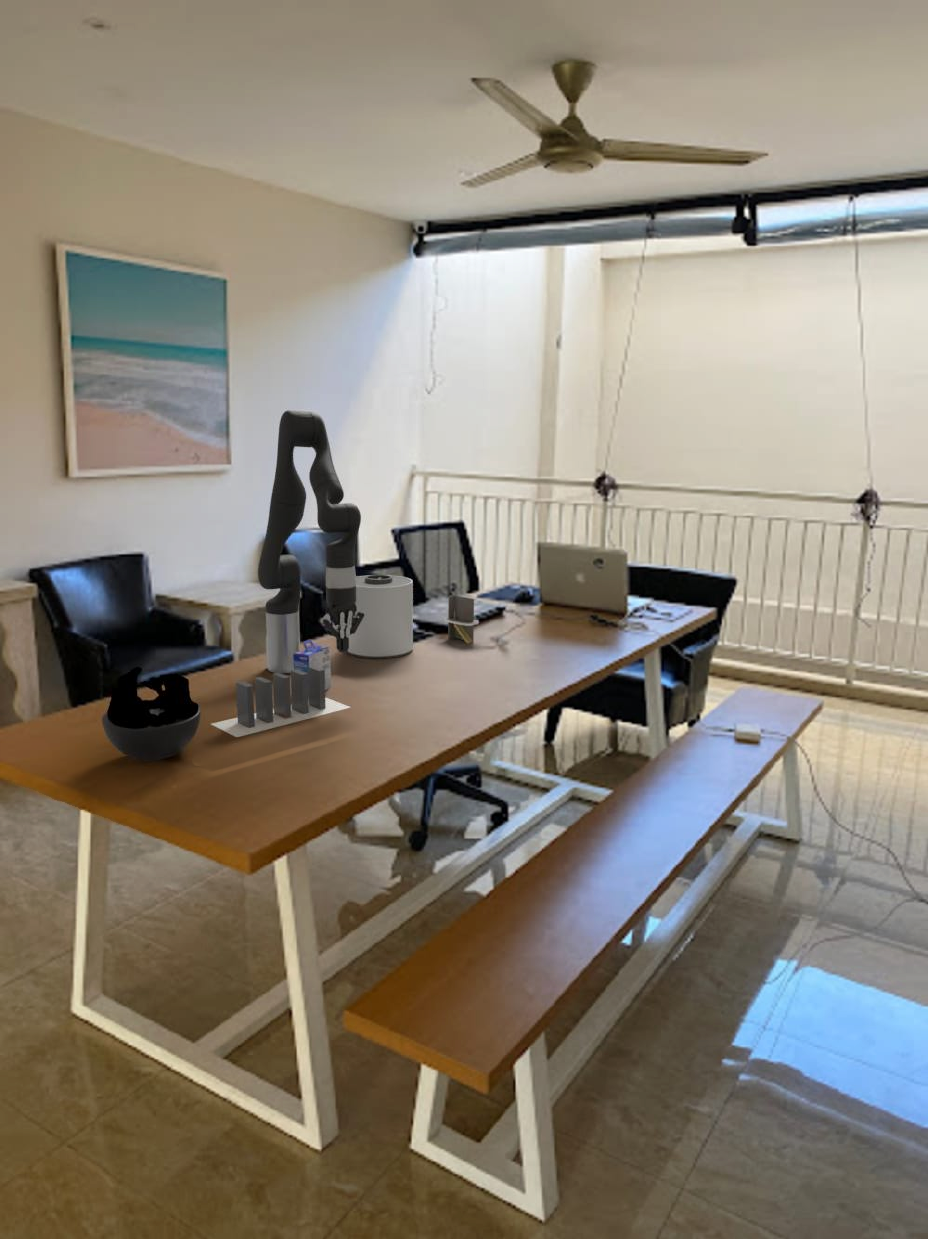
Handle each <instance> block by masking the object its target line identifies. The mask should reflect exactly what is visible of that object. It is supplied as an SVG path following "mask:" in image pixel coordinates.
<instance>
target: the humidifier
mask: <svg viewBox="0 0 928 1239" xmlns="http://www.w3.org/2000/svg"><path fill="white" fill-rule="evenodd" d="M413 586H414V583H413V579H411V578H409V577H406V576H401V575H389V574H371V575H369V574H368V575H359V576H358V575H357V576H356V599H357V600H356V602H355V604H356V607H357V610H358V611H359V612H361V613H364V617H363V619H362V621H361V623H360V625H359V626H358V628H357V630H356V632H355V633H354V634H351V635H350V636H349V649H348V651H347V652H346V653H348V654H349V655H352V657H353V656H354V657H356V658H357V657H358V658H361V659H362V658H363V659H375V660H377V659H393V658H399V657H403V656H406V655H408V654H410V653H412V651H413V649H414V626H413V625H414V624H413V623H414V621H413V619H414V614H413V613H414V605H413V604H414V603H413V602H414V600H413V599H414V597H413V596H414V593H413V592H414V591H413V590H414V588H413Z"/></svg>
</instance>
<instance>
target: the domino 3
mask: <svg viewBox="0 0 928 1239" xmlns="http://www.w3.org/2000/svg"><path fill="white" fill-rule="evenodd" d="M272 695H273V709H274V713H275V714H277V715H279V716H282V717H284V718H288V717H291V704H292V699H291V676H288V675H286V674H284V673H272Z"/></svg>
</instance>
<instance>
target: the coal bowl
mask: <svg viewBox="0 0 928 1239" xmlns="http://www.w3.org/2000/svg"><path fill="white" fill-rule="evenodd" d="M142 671H143V668H142V667H141V666H136V667H134V668H132V669H130V670H129V671H128V672H126V673H125V674H123V675H121V676H119V677H118V678H117V680H116V683H117V685H116V686H115V687H114V688H113V690H112V692H111V694H110V701H109V703H108V708H107V711H106V712H105V713H104V714H103V715H102V717H101V724H102V728H103V731H104V734H105V735H106V737H107V739H108V740H109V742H110V743H111V744H112V746H114V748H115V749H117V750H118V751H119V752H121V753H122V754H124V755H125V756H127V757H129V758H132V759H134V760H140V761H144V760H145V762H146V761H147V762H151V761H152V762H153V761H154V760H155V761H160V760H164V759H167V758H170V757H172V756H174V755H175V754H178V753H180V752H181V751H183V749H184V748H186V747H187V746H188V744H190V742H191V740H192V739H194V736H195V735H196V733H197V730H198V727H199V725H200V721H201V712H202V710H201V707H200V706H199V704H198V702H197V701H193V699H192V698H191V692H190V682H189V681H190V680H189V678H187V677H185V676H183V675H180V674H179V673H174V674H173V673H167V674H161V675H159V677H154V676H152V677H149V679H148V680H143V681H140V682H139V685H141V686H143V687H145V688H148V689H149V690H153V691H154V692H156V693H157V695H158V696H156V697H155V698H153V699H142V697H140V696H138V689H137V687H138V682H137V681H138V677H139V676H140V674H142ZM163 686H164V690H163Z"/></svg>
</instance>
